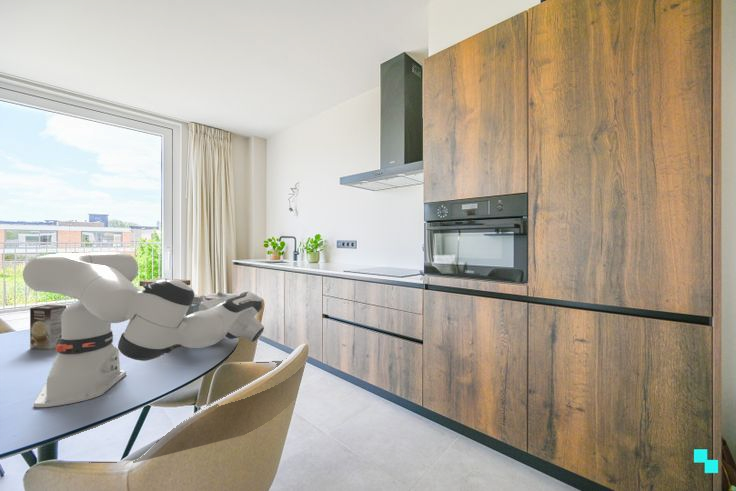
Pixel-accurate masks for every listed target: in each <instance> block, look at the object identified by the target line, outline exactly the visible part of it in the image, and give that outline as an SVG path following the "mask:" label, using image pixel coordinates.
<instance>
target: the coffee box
mask: <svg viewBox="0 0 736 491" xmlns="http://www.w3.org/2000/svg"><path fill="white" fill-rule="evenodd" d="M66 308H67V306H66V305H59V304H57V305H56V304H43V305H39V306H34V307H33V306H32V307H30V308H29V309H30V310H29V328H30V329H29V331H30V332H29V335H30V336H29V348H30V349H33V350H34V349H35V350H36V349H39V350H53V349H56V346H57V345H59V341H60V338H61V337H62V322H61V316H62V313H63V311H64V310H65V309H66Z"/></svg>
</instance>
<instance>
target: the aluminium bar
mask: <svg viewBox="0 0 736 491" xmlns="http://www.w3.org/2000/svg"><path fill="white" fill-rule="evenodd" d="M200 296H203V295H202V294H201V295H200V294H194V299H193V302H192V304H200V303H201V302H202V301H201V300H200V299H199V298H200ZM204 296H205V297H206V300H208V301H209V300H213V299H216V300H217V299H222V298H224V297H218V296H214V295H213V296H212V295H204Z"/></svg>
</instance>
